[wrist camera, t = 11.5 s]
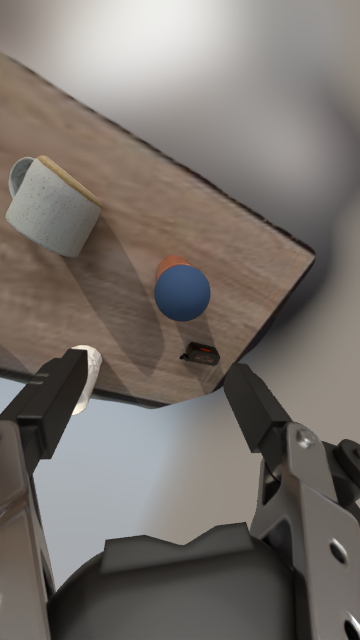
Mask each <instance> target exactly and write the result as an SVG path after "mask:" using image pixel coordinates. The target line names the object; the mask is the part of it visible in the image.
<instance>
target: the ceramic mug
mask: <svg viewBox="0 0 360 640" xmlns="http://www.w3.org/2000/svg"><path fill="white" fill-rule="evenodd" d="M9 190H10V193H11V196H12V198H13V201H12V203H11V205H10V207H9V209H8V211H7V213H6V216H5V217H6V220H7V221H8V223H9V224H10V225H11V226H12V227H13V228H14V229H15V230H17V231H18V232H19V233H21V234H22V235H23V236H25V237H26V238H28V239H29V240H31V241H33V242H35V243H36V244H38V245H40V246H41V247H43V248H45V249H47V250H49V251H52V252H54V253H57V254H60V255H62V256H65V257H77V256H78V255H79V253H80V251H81V250H82V248H83V246H84V244H85V242H86V240H87V239H88V237H89V235H90V233H91V231H92V229H93V227H94V225H95V224H96V222H97V220H98V218H99V215H100V212H101V209H102V205H101V202H100V200H99V199H98V198H96V197H95V196H94V195H93V194H92V193H91V192H89V191H88V190H87V189H86V188H85V187H83V186H82V185H81V184H80V183H79V182H77V181H76V180H75V179H74V178H73V177H71V176H70V175H69V174H68V173H67V172H65V171H64V170H63V169H62V168H60V167H59V166H58V165H57V164H56V163H54V162H53V161H52V160H51V159H49V158H48V157H46V156H38V157H37V158H36V159H34V158H30V157H25V158H22V159H20V160H18V161H17V162H16V163H15V165H14V166H13V168H12V170H11V172H10V176H9Z"/></svg>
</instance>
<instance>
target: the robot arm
mask: <svg viewBox="0 0 360 640" xmlns="http://www.w3.org/2000/svg"><path fill="white" fill-rule="evenodd" d="M87 379H88V351H87V350H84V349H72V348H70V349H68V350H67V352H66V353H65V354H64V356H63V357H62V358H54V359H52V360H51V361H49V362H47V363H46V364H44V365H43V366H42V367H41V368H40V369H39V371H38V372H37V373H36V374H35V376H33V377H32V379H31V380H30V381H29V382H28V384H26V386H25V387H24V388H23V389H22V390H21V391H20V392H19V394H18V395H17V396H16V397H15V398H14V399H13V400H12V402H11V403H10V404H9V405H8V406H7V407H6V408H5V410H4V411H3V412H2V413H1V414H0V640H360V508H359V507H358V505H357V504H356V503H355V501H356V500H358V499H359V498H360V444H358V443H356V442H354V441H351V440H348V439H344V440H342V441H341V442H340V443H339V444H338V445H337V446H335V445H333V444H329V443H327V442H324V441H321V440H320V439H319V438H318V437H317V436H316V435H315V434H314V433H313V432H312V431H311V430H310V429H308V428H307V427H306V426H304V425H302V424H299V423H297V422H293V421H292V420H291V418H290V417H289V415H288V414H287V413H286V411H285V410H284V409H283V407H282V406H281V404H280V403H279V402H278V400H277V399H276V398H275V396H273V394H272V392H271V391H270V390H269V389H268V387H267V386H266V384H265V383H264V381H263V380H262V379H261V378H260V377H258V376H257V375H256V374H255V373H253V372H252V370H251V369H250V368H249V366H248V365H247V364H243V363H232V365H231V367H230V369H229V372H228V374H227V376H226V379H225V381H224V392H225V394H226V397H227V399H228V401H229V403H230V405H231V408H232V410H233V412H234V414H235V417H236V419H237V421H238V424H239V426H240V428H241V431H242V433H243V435H244V437H245V440H246V442H247V444H248V446H249V449H250V451H251V453H261V454H262V456H263V459H262V461H261V467H260V478H259V490H258V500H257V508H256V512H255V515H254V518H253V520H252V523H251V527H250V532H249V530H248V527H247V524H246V522H243V523H234V524H226V525H218V526H215V527H213V528H212V529H210V530H209V531H207V532H205V533H203V534H202V535H200V536H199V537H197V538H196V539H194V540H193V541H191V542H189V543H187V544H186V545H178V544H174V543H171V542H167V541H164V540H160V539H157V538H153V537H150V536H147V535H140V536H133V537H124V538H117V539H109V540H106V541H105V548H104V551H103V552H101V553H100V554H98V555H96V556H94V557H93V558H91V559H90V560H89V561H87V562H86V563H84V564H83V565H82V566H81V567H80V568H79V569H78V570H76V571H75V572H74V573H73V574H72V575H71V576H70V577H69V578H68V579H67V580H66V582H65V583H64V584H63V585H62V586H61V587H60V588H59V589H58V590H57V592H56V589H55V584H54V579H53V574H52V568H51V563H50V558H49V553H48V549H47V544H46V541H45V536H44V531H43V526H42V521H41V516H40V510H39V505H38V500H37V494H36V489H35V484H34V478H33V472H34V470H35V468H36V466H37V464H38V462H39V460H40V459H51V458H52V456H53V454H54V451H55V449H56V447H57V445H58V443H59V441H60V439H61V436H62V434H63V432H64V430H65V428H66V425H67V424H68V422H69V419H70V417H71V415H72V413H73V411H74V409H75V407H76V405H77V402H78V400H79V398H80V396H81V394H82V392H83V390H84V388H85V385H86V383H87Z"/></svg>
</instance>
